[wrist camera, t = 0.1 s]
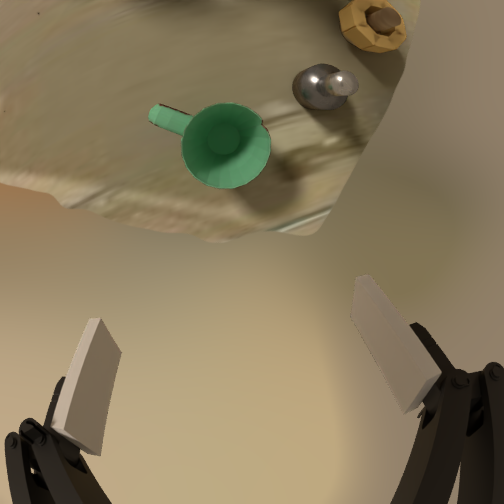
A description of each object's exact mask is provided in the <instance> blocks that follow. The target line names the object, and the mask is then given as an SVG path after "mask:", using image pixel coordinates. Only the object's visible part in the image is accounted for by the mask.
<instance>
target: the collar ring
mask: <svg viewBox="0 0 504 504" xmlns="http://www.w3.org/2000/svg"><path fill="white" fill-rule="evenodd" d="M385 7H390V8H393V9H394V7H393V6H392V5H391V4H390V3H389V2H388V1H387V0H353V1H351V2H350V3H349V4H347V5H346V6H345V7H344V8H343V9H341V10H340V11H339V18H340V23H341V28H342V32H344V33H343V34H344V35H345V36H346V37H348V38H349V39H350V40H351V41H352V42H353V43H354V44H355V45H356V46H357V47H358V48H359V49H361V50H364V51H371V52H377V53H383V52H387V51H392V50H396V49H397V48H398V47H399V46H400V45H401V44H402V43H403V42H404V40H405V39H406V37H407V36H406V31H405V26H404V21H403V18H401V17H402V16H401V15H400V14H399V13H398V12H397V13H398V14H399V15H400V18H401V24H400V25H398V26H395V27H392V28H389V29H386V30H383V31H381V35H379V34H377V33H376V32H375V31H374V30H373V29H372V28H371V27H370V26H369V25H368V24H367V23H366V18H365V14H369V15H370V14H372V13H374V12H377V11H379V10H381V9H383V8H385ZM394 10H395V9H394ZM395 11H396V10H395Z"/></svg>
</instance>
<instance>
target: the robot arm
mask: <svg viewBox="0 0 504 504" xmlns="http://www.w3.org/2000/svg"><path fill="white" fill-rule="evenodd" d="M351 319H352V321H353V322H354V324H355V326H356V327H357V329H358V331H359V333H360V334H361V336H362V338H363V340H364V341H365V343H366V345H367V347H368V349H369V350H370V352H371V354H372V356H373V358H374V360H375V361H376V363H377V365H378V367H379V369H380V371H381V372H382V374H383V376H384V378H385V380H386V382H387V383H388V385H389V388H390V389H391V391H392V393H393V395H394V397H395V399H396V401H397V403H398V405H399V407H400V409H401V411H402V413H403V414H405V413H408V412H410V411H412V410H414V409H416V408H418V406H419V405H420V404H421V402H423V403H424V405H425V407H424V408H423V409H422V411H421V412H420V413H419V415H418V417H417V418H420V416H421V415H422V417H421V421H420V425H419V428H418V432H417V435H416V438H415V442H414V445H413V448H412V451H411V454H410V457H409V460H408V463H407V465H406V468H405V471H404V473H403V476H402V478H401V481H400V484H399V486H398V488H397V491H396V492H395V495H394V497H393V499H392V501H391V503H390V504H448V501H449V498H450V495H451V492H452V489H453V486H454V483H455V480H456V476H457V473H458V469H459V465H460V461H461V466H460V482H459V493H458V501H457V504H504V368H503V367H502V366H501V365H500V364H499V363H497V362H491V363H489V364H487V365H486V367H485V368H484V369H483V371H478V372H473V373H467V372H466V371H464V370H461V369H455V368H454V366H453V365H452V364H451V362H450V361H449V360H448V358H447V357H446V355H445V354H444V353H443V351H442V350H441V348H440V347H439V346H438V344H436V342H435V340H434V339H433V338H432V337H431V335H430V334H429V332H428V331H427V330H426V328H424V327H423V326H421V325H420V324H418V323H417V322H416V323H413V324H410V325H408V323H407V322H406V321H405V319H404V318H403V317H402V315H401V314H400V313H399V311H398V310H397V309H396V307H395V306H394V305H393V304H392V302H391V301H390V300H389V298H388V297H387V296H386V295H385V293H384V292H383V291H382V290H381V288H380V287H379V286H378V285H377V283H376V282H375V281H374V280H373V278H372V277H371V276H370V275H369V274H366V275H362V276H357V277H356V279H355V288H354V295H353V303H352V309H351ZM121 353H122V352H121V351H120V349H119V348H118V346H117V344H116V343H115V341H114V340H113V338H112V336H111V335H110V333H109V331H108V330H107V328H106V326H105V324H104V322H103V321H102V319H101V318H92V319H89V321H88V323H87V326H86V328H85V330H84V332H83V335H82V337H81V340H80V342H79V345H78V347H77V349H76V352H75V354H74V357H73V360H72V362H71V365H70V367H69V370H68V373H67V375H66V377H62V378H61V379H60V380H59V382H58V383H57V385H56V387H55V390H54V395H53V397H52V402H50V405H49V409H48V412H47V415H46V419H45V422H44V425H43V426H41V425H40V424H39V423H38V422H36V420H34V419H33V418H27V419H25V420H24V421H23V422H22V423H21V425H20V427H19V434H17V433H16V432H11V433H9V434H8V435H7V437H6V439H5V457H6V466H7V473H8V481H9V487H10V492H11V497H12V502H13V504H112V503H111V502H110V500H109V499H108V497H107V496H106V494H105V493H104V491H103V490H102V488H101V487H100V485H99V484H98V482H97V480H96V479H95V477H94V475H93V474H92V472H91V470H90V469H89V467H88V465H87V463H86V461H85V460H84V458H83V456H82V455H81V454H80V449H81V450H83V451H84V452H86V453H87V454H91V455H97V456H101V449H102V443H103V436H104V430H105V424H106V419H107V414H108V409H109V404H110V399H111V394H112V390H113V386H114V381H115V377H116V373H117V369H118V365H119V361H120V357H121ZM30 467H31V468H32V469H34V474H33V473H31V468H30Z"/></svg>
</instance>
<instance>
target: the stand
mask: <svg viewBox="0 0 504 504" xmlns="http://www.w3.org/2000/svg"><path fill="white" fill-rule="evenodd" d="M365 18H366V23H367V24H368V25H369V26H370V27H371V28H372V29H373V30H374V31H375V32H376V33H377V34H379V35H381V31H383V30H386V29H389V28H392V27H395V26H398V25H400V24H401V18H400V15H399V14H398V13H397V11H395V10H394V9H393V8H390V7H385V8H383V9H381V10H379V11H377V12H374V13H372V14H370V15H369V14H365ZM340 30H341V33H342V35H343V36H344V38H345V39H346V40H347V41H348V42H350V43H351V44H353V45H355V44H354V43H353V42H352V41H351V40H350V39H349V38H348V37H346V36H345V35H344V34H343V33H344V32H342V28H341V23H340ZM355 46H356V45H355Z"/></svg>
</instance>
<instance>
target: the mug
mask: <svg viewBox="0 0 504 504" xmlns="http://www.w3.org/2000/svg"><path fill="white" fill-rule="evenodd" d="M148 118H149V122H151V123H152V124H154V125H156V126H158V127H161V128H163V129H166V130H169V131H171V132H174V133H176V134H179V135H181V136H182V139H181V155H182V158H183V160H184V163H185V166H186V168H187V169H188V170H189V172H190V173H191V174H192V175H193V176H194V178H195V179H197V180H199V181H200V182H202V183H203V184H205V185H207V186H210V187H214V188H218V189H234V188H236V187H240V186H243V185H246V184H247V183H249V182H250V181H252V180H253V179H255V178H256V177H257V176H258V175H259V174H260V173H261V171H262V170H263V169H264V168H265V166H266V164H267V161H268V159H269V156H270V153H271V138H270V135H269V132H268V130H267V128H265V127H264V126H263V125H262V123H263V120H262V119H261V117H260V116H259V115H258V114H257V113H255V112H254V111H253V110H251V109H250V108H248V107H246V106H243V105H240V104H237V103H217V104H214V105H211V106H208V107H205V108H204V109H202V110H201V111H200V112H198V113H197V114H196V115H194V116H192V115H190V114H187V113H185V112H182V111H179V110H177V109H174V108H171V107H168V106H165V105H163V104H157V105H155V106H154V107H153V108H152V109H151V110H150V112H149V117H148Z"/></svg>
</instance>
